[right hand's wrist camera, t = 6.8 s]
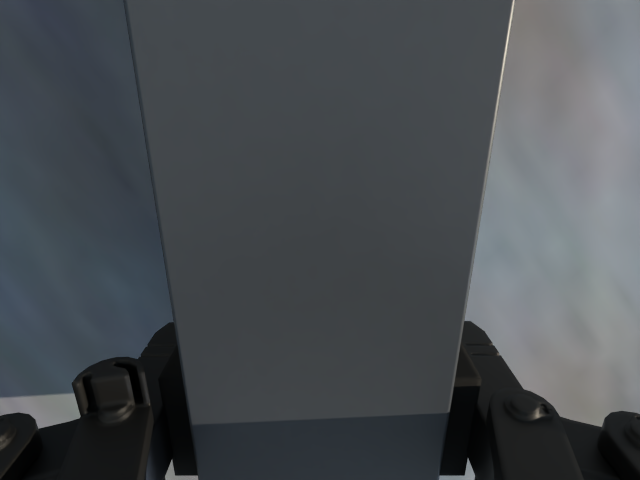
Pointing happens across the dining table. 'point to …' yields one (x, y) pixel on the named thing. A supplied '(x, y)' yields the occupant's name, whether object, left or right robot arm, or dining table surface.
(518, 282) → the dining table surface
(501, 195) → the dining table surface
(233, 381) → the beam
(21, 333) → the dining table surface
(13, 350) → the dining table surface
